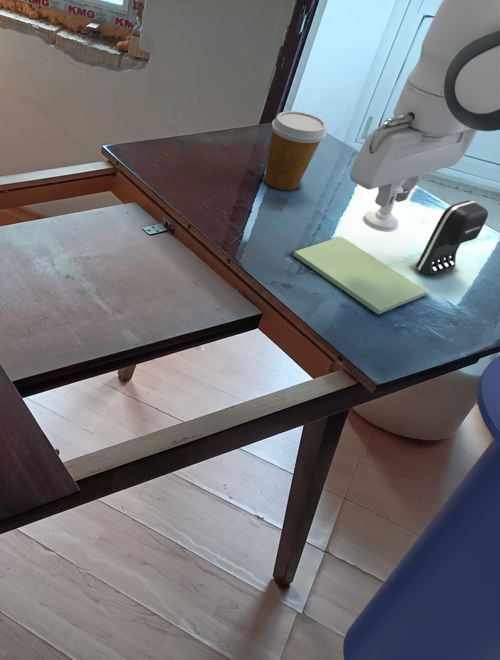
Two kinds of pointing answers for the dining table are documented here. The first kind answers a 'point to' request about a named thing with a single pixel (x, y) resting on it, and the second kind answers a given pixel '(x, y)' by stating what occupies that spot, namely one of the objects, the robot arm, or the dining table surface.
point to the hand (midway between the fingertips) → (390, 201)
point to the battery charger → (451, 236)
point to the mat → (360, 274)
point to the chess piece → (384, 214)
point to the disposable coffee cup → (292, 148)
